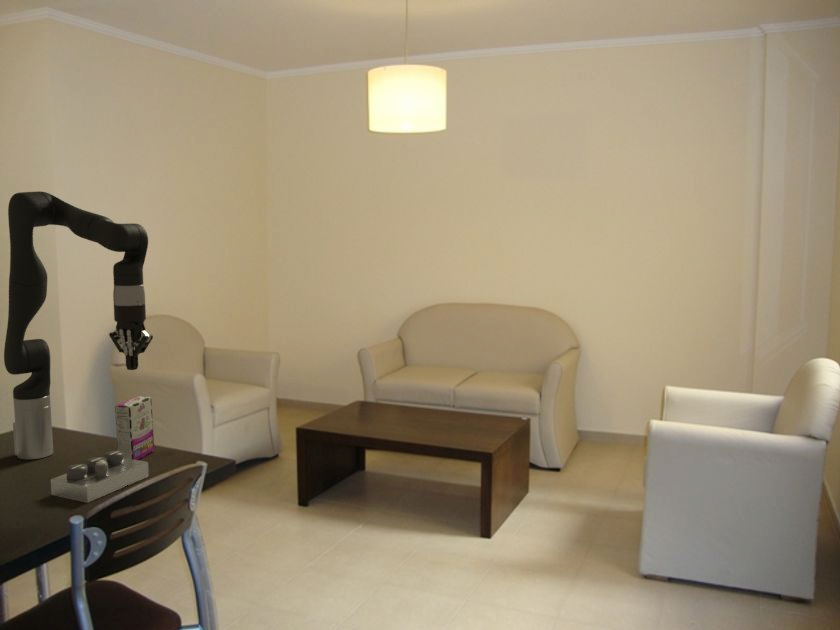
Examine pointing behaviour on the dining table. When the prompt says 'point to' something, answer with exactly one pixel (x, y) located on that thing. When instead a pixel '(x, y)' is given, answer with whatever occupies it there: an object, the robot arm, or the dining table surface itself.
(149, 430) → the candy bar box
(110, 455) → the knob
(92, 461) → the knob
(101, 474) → the pot post
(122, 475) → the mount
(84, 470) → the knob
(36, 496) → the dining table surface
